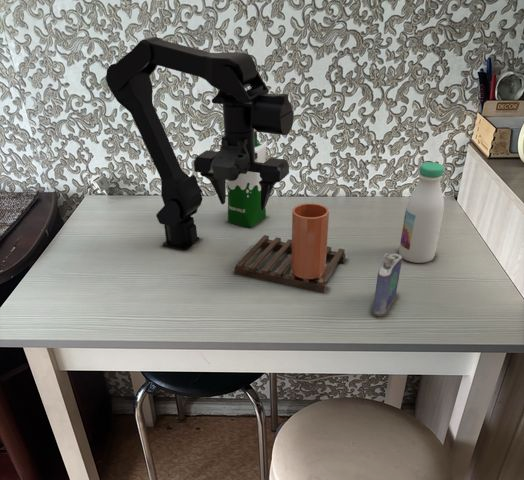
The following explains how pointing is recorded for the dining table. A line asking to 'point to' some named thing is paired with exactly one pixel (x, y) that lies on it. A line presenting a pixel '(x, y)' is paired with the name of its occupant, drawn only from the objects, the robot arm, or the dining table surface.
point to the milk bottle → (423, 216)
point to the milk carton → (247, 195)
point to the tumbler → (309, 240)
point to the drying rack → (284, 265)
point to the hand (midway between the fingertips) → (242, 206)
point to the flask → (387, 283)
